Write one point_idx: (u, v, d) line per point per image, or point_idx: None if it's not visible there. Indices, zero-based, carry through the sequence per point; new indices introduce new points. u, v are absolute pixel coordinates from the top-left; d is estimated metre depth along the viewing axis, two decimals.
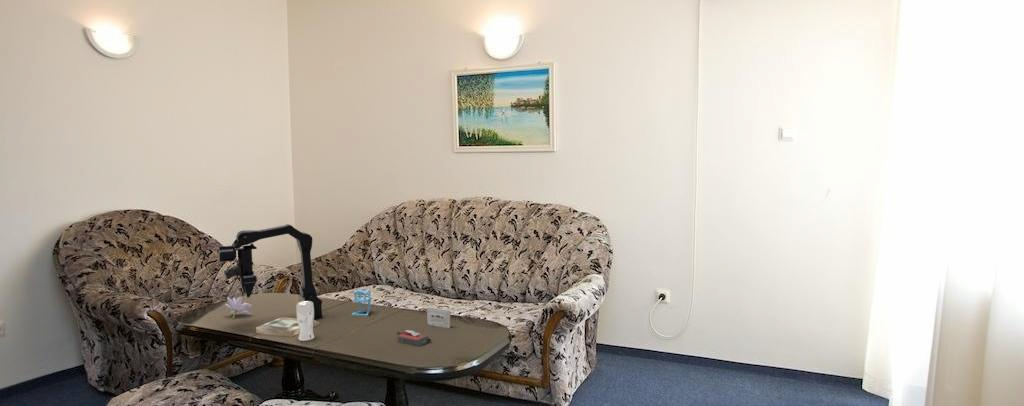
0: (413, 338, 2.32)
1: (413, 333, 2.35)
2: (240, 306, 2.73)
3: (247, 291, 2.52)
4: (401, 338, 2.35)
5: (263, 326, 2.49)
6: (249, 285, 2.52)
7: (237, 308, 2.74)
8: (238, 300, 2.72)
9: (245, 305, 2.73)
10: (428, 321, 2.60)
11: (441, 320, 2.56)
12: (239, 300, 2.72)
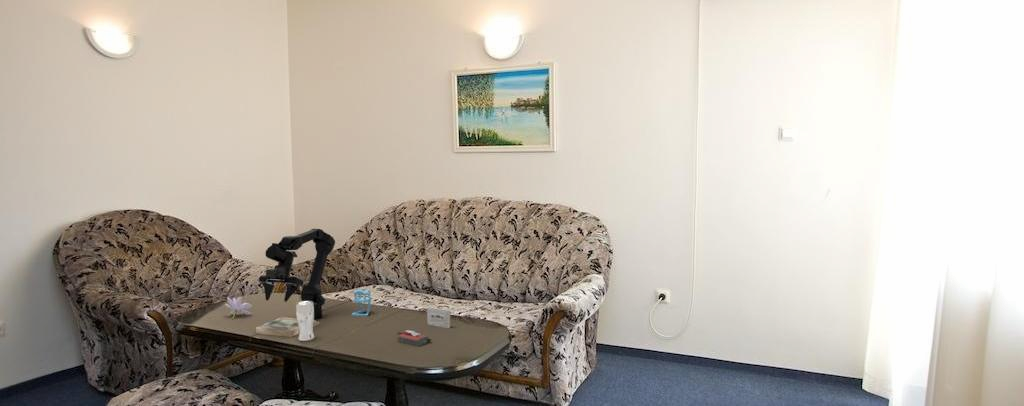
0: (413, 338, 2.32)
1: (413, 333, 2.35)
2: (240, 306, 2.73)
3: (288, 294, 2.47)
4: (401, 338, 2.35)
5: (263, 326, 2.49)
6: (291, 289, 2.48)
7: (237, 308, 2.74)
8: (238, 300, 2.72)
9: (245, 305, 2.73)
10: (428, 321, 2.60)
11: (441, 320, 2.56)
12: (239, 300, 2.72)
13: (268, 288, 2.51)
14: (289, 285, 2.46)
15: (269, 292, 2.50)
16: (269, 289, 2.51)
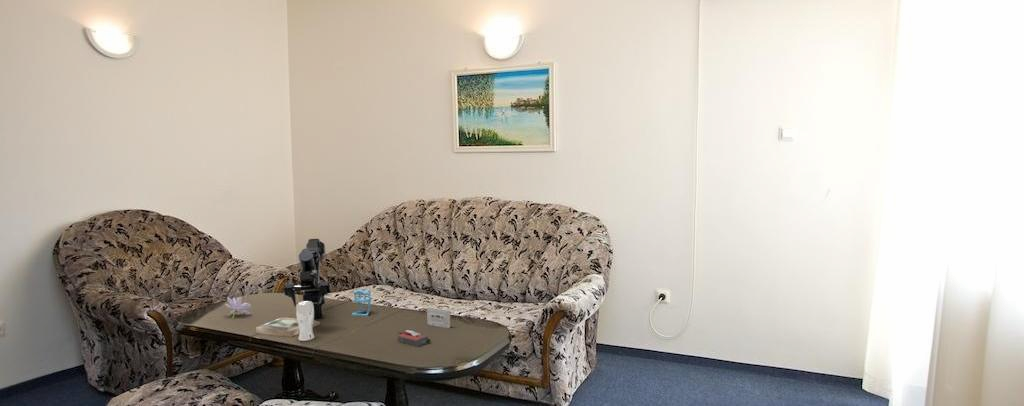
0: (412, 338, 2.32)
1: (413, 333, 2.35)
2: (240, 306, 2.73)
3: (320, 298, 2.50)
4: (401, 338, 2.35)
5: (263, 326, 2.49)
6: (321, 294, 2.52)
7: (237, 308, 2.74)
8: (238, 300, 2.72)
9: (245, 305, 2.73)
10: (428, 321, 2.60)
11: (441, 320, 2.56)
12: (239, 300, 2.72)
13: (294, 295, 2.49)
14: (323, 288, 2.50)
15: (295, 299, 2.48)
16: (295, 296, 2.49)
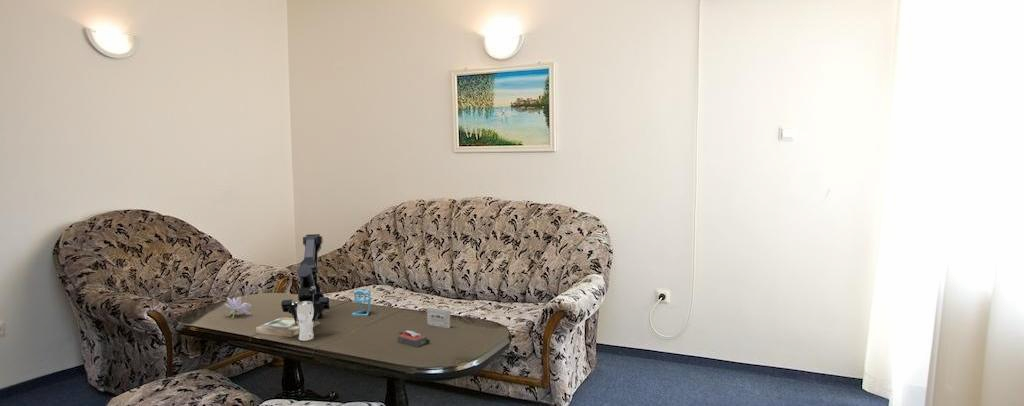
0: (411, 338, 2.32)
1: (412, 333, 2.35)
2: (239, 306, 2.73)
3: (317, 315, 2.43)
4: (400, 338, 2.35)
5: (263, 326, 2.49)
6: (317, 310, 2.45)
7: (237, 308, 2.74)
8: (237, 300, 2.72)
9: (245, 305, 2.73)
10: (428, 321, 2.60)
11: (441, 320, 2.56)
12: (238, 300, 2.72)
13: None
14: (319, 304, 2.44)
15: (296, 316, 2.42)
16: None
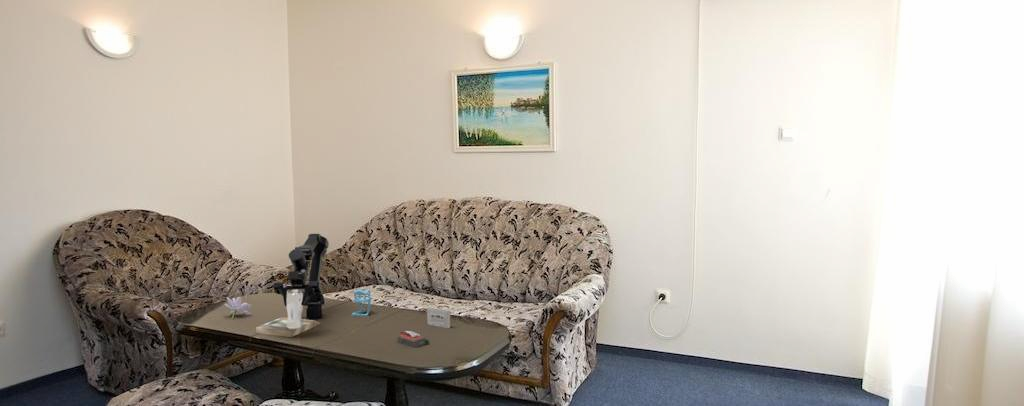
0: (411, 339, 2.31)
1: (412, 334, 2.35)
2: (239, 306, 2.73)
3: (306, 298, 2.44)
4: (400, 338, 2.35)
5: (263, 326, 2.49)
6: (308, 294, 2.47)
7: (236, 308, 2.74)
8: (237, 300, 2.72)
9: (244, 305, 2.73)
10: (428, 321, 2.60)
11: (441, 320, 2.56)
12: (238, 300, 2.72)
13: (286, 294, 2.45)
14: (309, 288, 2.45)
15: None
16: None
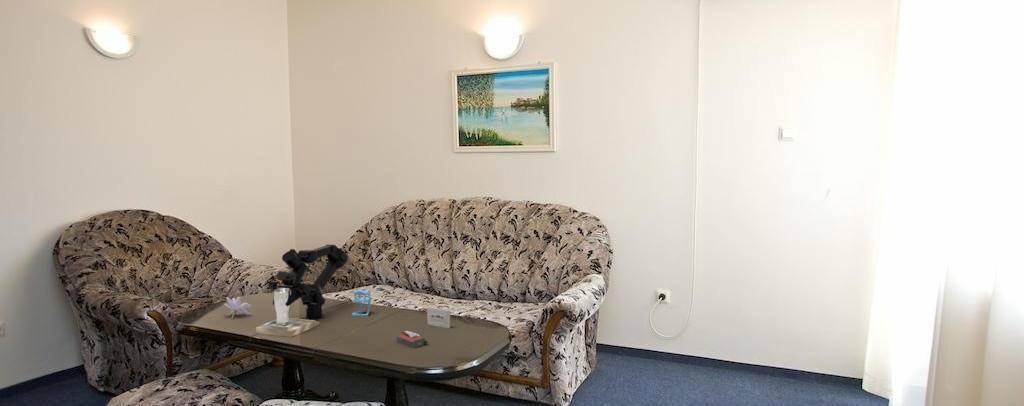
0: (409, 339, 2.31)
1: (411, 334, 2.34)
2: (239, 306, 2.73)
3: (291, 299, 2.51)
4: (399, 338, 2.35)
5: (263, 326, 2.49)
6: (295, 295, 2.53)
7: (236, 308, 2.74)
8: (237, 300, 2.72)
9: (244, 305, 2.73)
10: (428, 321, 2.60)
11: (441, 320, 2.56)
12: (238, 300, 2.72)
13: None
14: (294, 290, 2.51)
15: None
16: None
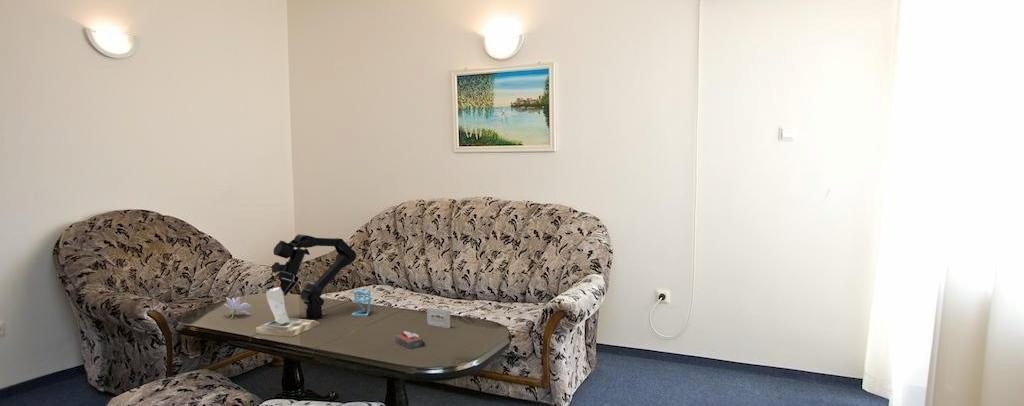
0: (406, 340, 2.30)
1: (409, 335, 2.33)
2: (239, 306, 2.73)
3: None
4: (398, 339, 2.34)
5: (263, 326, 2.49)
6: (285, 283, 2.56)
7: (236, 308, 2.74)
8: (237, 300, 2.72)
9: (244, 305, 2.73)
10: (428, 321, 2.60)
11: (441, 320, 2.56)
12: (238, 300, 2.72)
13: None
14: (279, 279, 2.55)
15: (287, 288, 2.66)
16: (288, 285, 2.67)
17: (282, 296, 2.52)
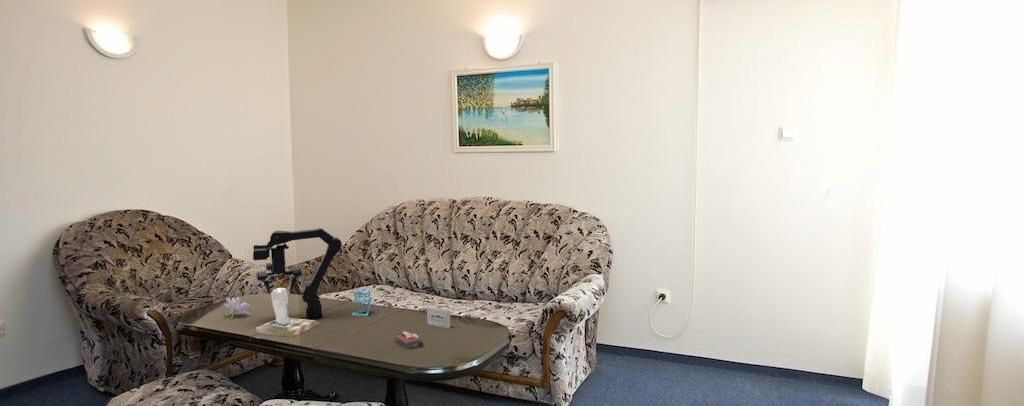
0: (404, 340, 2.30)
1: (408, 335, 2.33)
2: (238, 306, 2.73)
3: (266, 288, 2.64)
4: (397, 339, 2.34)
5: (263, 326, 2.49)
6: None
7: (236, 308, 2.74)
8: (236, 300, 2.72)
9: (243, 305, 2.73)
10: (428, 321, 2.60)
11: (441, 320, 2.56)
12: (237, 300, 2.72)
13: (290, 280, 2.69)
14: None
15: (290, 284, 2.69)
16: (290, 281, 2.69)
17: (287, 298, 2.51)
